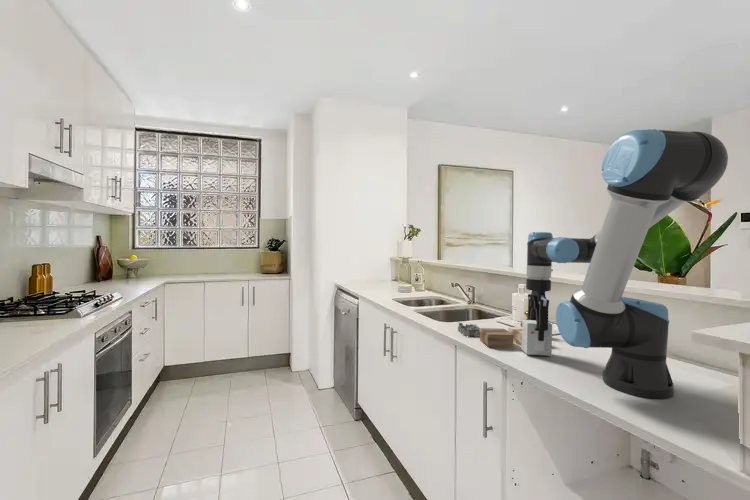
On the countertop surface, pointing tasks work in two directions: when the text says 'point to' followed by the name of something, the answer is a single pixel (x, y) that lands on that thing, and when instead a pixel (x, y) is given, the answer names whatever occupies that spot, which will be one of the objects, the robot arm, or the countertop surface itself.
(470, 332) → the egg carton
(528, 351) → the small box
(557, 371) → the countertop surface
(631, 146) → the robot arm
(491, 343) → the walnut block
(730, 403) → the countertop surface
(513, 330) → the maple block
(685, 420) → the countertop surface
